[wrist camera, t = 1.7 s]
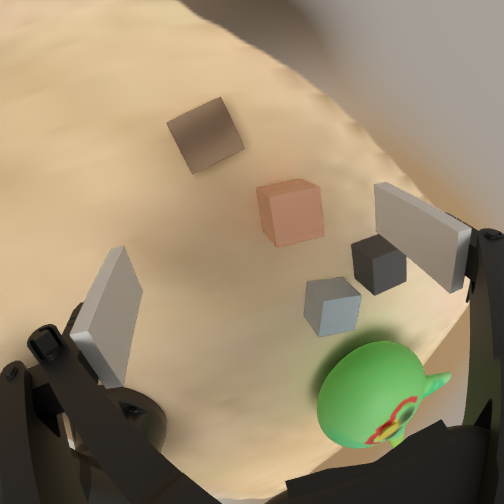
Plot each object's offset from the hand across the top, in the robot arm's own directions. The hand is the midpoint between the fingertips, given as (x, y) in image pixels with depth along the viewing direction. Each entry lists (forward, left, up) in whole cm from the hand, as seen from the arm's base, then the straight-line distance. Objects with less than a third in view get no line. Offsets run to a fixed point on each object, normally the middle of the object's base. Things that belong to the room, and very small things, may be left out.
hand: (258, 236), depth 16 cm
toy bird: (-33, -16, -18) cm, 41 cm away
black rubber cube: (-13, -18, -18) cm, 28 cm away
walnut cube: (+5, 0, -18) cm, 18 cm away
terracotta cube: (-4, -7, -18) cm, 19 cm away
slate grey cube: (-17, -11, -18) cm, 27 cm away
